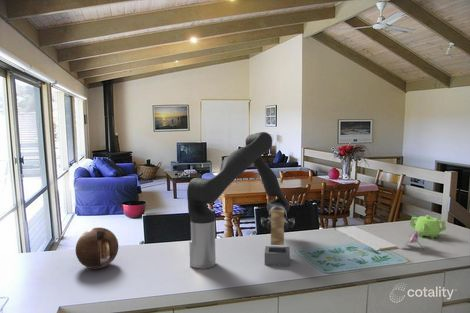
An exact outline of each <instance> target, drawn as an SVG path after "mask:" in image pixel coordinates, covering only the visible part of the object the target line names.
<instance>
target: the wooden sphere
mask: <svg viewBox="0 0 470 313" xmlns="http://www.w3.org/2000/svg"><path fill="white" fill-rule="evenodd" d="M118 252H119V241H118V238H117V237H116V235H115V234H114V232H113V231H111V230H110V229H108V228H105V227H93V228H90V229H87V230H86V231H84V233H82V234H81V235H80V237H79V238H78V240H77V242H76V244H75V255H76V258H77V260H78V261H79V263H80V264H81V265H82V266H84V267H86V268H88V269H91V270H97V269H98V270H99V269H103V268H105V267H107V266H108V265H110V264H111V263H112V262H113V261H115V259H116V257H117V255H118Z"/></svg>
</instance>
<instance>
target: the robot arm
mask: <svg viewBox="0 0 470 313" xmlns="http://www.w3.org/2000/svg"><path fill="white" fill-rule="evenodd" d="M272 146H273V137H272V135H271V134H270V133H269V132H265V131H262V132H256V133H253V134H250V135H247V137H246V138H245V146H242V147H240V148H239V149H237V150H236V149H235V150H234V151H233V152H231V153H230V154H229V155H227V156H226V157H225V158H224V159H223V160H222V162H221V165H220V172H219V173H217V174H216V175H215V176H214V177H212V178H203V177H194V178H192V179H191V180H190V181H189V183H188V185H187V189H186V190H187V191H186V196H187V208H188V215H189V217H190V241H189V266H190V268H191V267H193V268H195V269H200V270H205V269H206V270H207V269H209V268H212V267H214V266H216V259H217V258H216V214H215V212H214V211H213V210H212V209H211V208H209V207H208V205H211V204H212V203H215V202H216V201H217V200H218V199H219V198H220V196H222V194H223V193H224V192H225V190H226V189H227V188H229V186H230V185H231V184H232V183H233V182H234V181H235V180H236V179H237V178H238V177H239V176H241V175H242V174H243V173H244V172H245V171H246V170H247V169H248V168H249V167H250V166H251V165H252V164H254V166H255V168H256V170H257V173H258V174H259V177H260V179H261V182H262V184H263V188H264V191H265V194H266V196H267V197H277V198H275V199H272V200H269V201H268V202H267V203H266V210H267V212H268V217H263V216H261V217H260V224H261V226H262V227H263V228H267V230H269V231H271V210H284V232H286V231H287V230H288V228H289V229H292V228H293V227H294V225H295V223H296V222H295V217H291V218H290V219H289V218H288V216H287V212H289V210H290V207H291V206H290V202H289V200H288V198H286V196H285V195H284V193H283V191H282V189H281V187H280V183H279V180H278V177H277V175H276V173H275V172H274V171H273V169H272V168H271V167H270V166H269V165H268V164H267V163H266V162H265V160H264V159H263V157H262V156H263V155H264V154H266V153H267V152H269V151H270V150H271V148H272Z"/></svg>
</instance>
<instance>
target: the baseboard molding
mask: <svg viewBox="0 0 470 313" xmlns="http://www.w3.org/2000/svg"><path fill="white" fill-rule="evenodd" d="M335 230H336V232H339V233H341V234H343V235H345V236H347V237H349V238H351V239H353V240H355V241H357V242H359V243H361V244H363V245H365V246H366V245H367V247H368V246H369V247H368V248H370V247H371V248H370V249H372V248H373V250H374V251H376V252H378V251H377V250H380V251H387V250H394V249H395V250H396V249H398V245H396V244H394V243H391V242H390V241H387V240H385V239H383V238H381V237H378V236H377V235H374V234H372V233H370V232H368V231H366V230H363V229H361V228H359V227H357V226H354V224H352V226H351V225H348V226H346V223H345V224H343V226H341V227H340V226H338V228H335Z"/></svg>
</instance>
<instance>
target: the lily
mask: <svg viewBox="0 0 470 313" xmlns="http://www.w3.org/2000/svg"><path fill="white" fill-rule="evenodd" d="M420 230H421V229H420ZM420 230H419V231H420ZM418 233H419V232H418V231H417V232H415V233H413V235H411V234H410V235H409V236H408V237H410V240H409V241H407V242H406V243H405V246H407V245H408V244H411V243H412V244H413V243H418V244H419V246H420V247H421V248H422V250H423V251H425V249H424V248H423V246H422V245H421V242H419V238H418V237H419V234H418Z"/></svg>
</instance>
